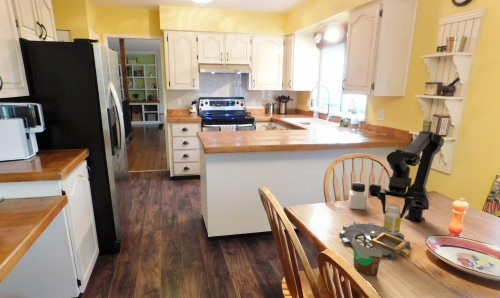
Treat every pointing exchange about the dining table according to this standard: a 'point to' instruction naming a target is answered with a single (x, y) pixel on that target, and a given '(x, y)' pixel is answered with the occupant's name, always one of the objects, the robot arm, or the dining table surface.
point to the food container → (365, 255)
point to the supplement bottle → (392, 219)
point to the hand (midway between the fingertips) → (392, 215)
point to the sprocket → (377, 239)
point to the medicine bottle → (357, 196)
